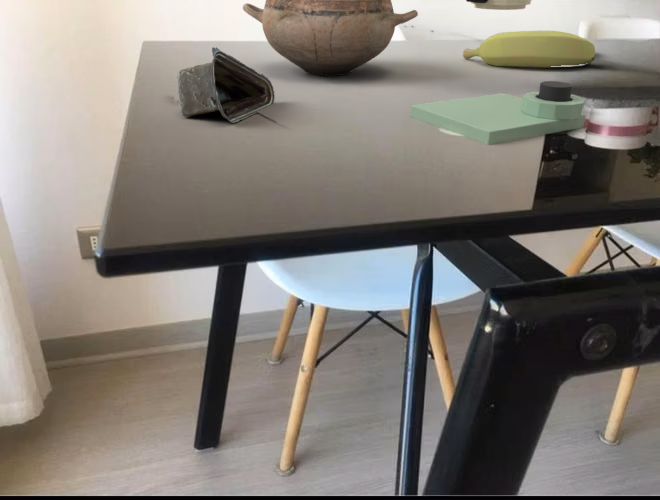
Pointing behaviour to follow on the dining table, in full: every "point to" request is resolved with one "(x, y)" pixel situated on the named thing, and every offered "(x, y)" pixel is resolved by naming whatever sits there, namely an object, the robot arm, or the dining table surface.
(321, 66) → the cooking pot
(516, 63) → the banana
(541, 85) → the button
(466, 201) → the dining table surface
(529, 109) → the scale
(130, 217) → the dining table surface
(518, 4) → the beige faceted cup
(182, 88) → the hollow triangular tube
